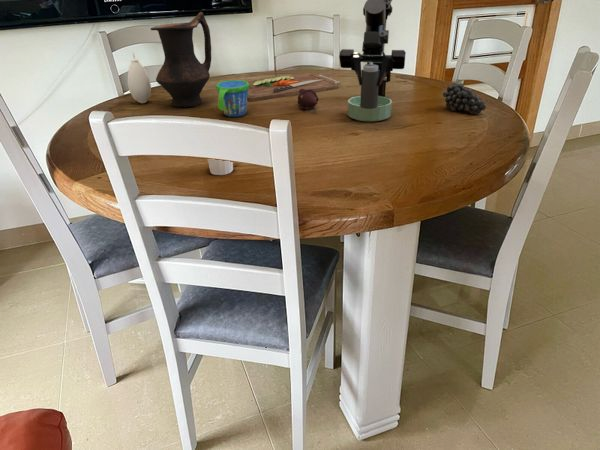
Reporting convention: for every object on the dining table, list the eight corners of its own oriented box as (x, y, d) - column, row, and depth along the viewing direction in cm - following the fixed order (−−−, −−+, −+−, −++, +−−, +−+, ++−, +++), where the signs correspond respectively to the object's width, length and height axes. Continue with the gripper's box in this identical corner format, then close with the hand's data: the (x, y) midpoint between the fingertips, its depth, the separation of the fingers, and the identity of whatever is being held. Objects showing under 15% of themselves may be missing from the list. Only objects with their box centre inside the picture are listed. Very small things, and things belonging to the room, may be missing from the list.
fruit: (493, 86, 144) (453, 77, 154) (477, 99, 141) (437, 89, 151) (493, 110, 150) (454, 100, 160) (477, 123, 147) (439, 112, 157)
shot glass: (208, 165, 117) (205, 139, 113) (236, 164, 117) (233, 138, 114) (206, 176, 111) (202, 149, 107) (234, 175, 111) (232, 147, 108)
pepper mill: (369, 103, 139) (372, 59, 133) (380, 106, 136) (383, 62, 129) (356, 106, 137) (358, 61, 131) (367, 109, 133) (370, 64, 127)
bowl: (374, 107, 158) (375, 93, 156) (399, 118, 148) (400, 102, 145) (339, 113, 153) (339, 98, 151) (362, 125, 142) (363, 109, 140)
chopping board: (314, 74, 206) (314, 67, 204) (346, 86, 185) (346, 79, 183) (218, 88, 188) (217, 80, 187) (241, 103, 168) (240, 94, 166)
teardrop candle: (133, 106, 167) (122, 54, 158) (130, 101, 173) (120, 50, 164) (155, 103, 169) (146, 52, 160) (152, 98, 176) (142, 49, 167)
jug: (170, 114, 157) (154, 18, 142) (154, 102, 170) (138, 14, 155) (227, 104, 166) (218, 13, 151) (207, 94, 180) (197, 9, 165)
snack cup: (233, 122, 147) (230, 90, 142) (208, 118, 152) (204, 87, 147) (261, 110, 159) (259, 80, 154) (236, 106, 164) (234, 77, 158)
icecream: (328, 93, 151) (311, 88, 164) (308, 90, 148) (291, 84, 161) (324, 115, 154) (307, 107, 166) (304, 112, 151) (288, 104, 163)
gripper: (340, 19, 130) (334, 68, 126) (408, 19, 126) (404, 69, 122) (343, 44, 140) (338, 89, 136) (406, 44, 137) (402, 91, 133)
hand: (369, 85), depth 132 cm, fingers closed on pepper mill, 5 cm apart
